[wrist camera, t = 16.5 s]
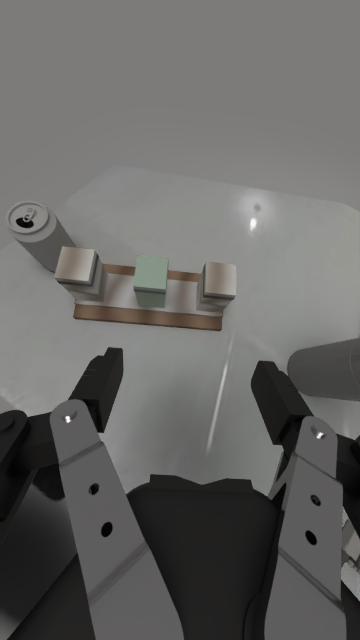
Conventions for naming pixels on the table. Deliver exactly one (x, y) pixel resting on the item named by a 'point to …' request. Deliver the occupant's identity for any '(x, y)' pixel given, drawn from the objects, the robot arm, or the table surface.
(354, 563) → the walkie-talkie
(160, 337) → the table surface
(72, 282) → the wooden block stand
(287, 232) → the table surface
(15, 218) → the can
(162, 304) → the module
